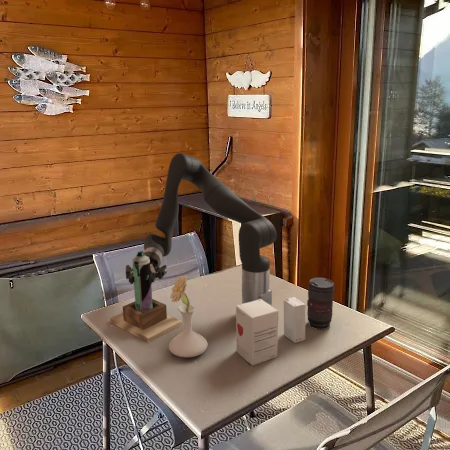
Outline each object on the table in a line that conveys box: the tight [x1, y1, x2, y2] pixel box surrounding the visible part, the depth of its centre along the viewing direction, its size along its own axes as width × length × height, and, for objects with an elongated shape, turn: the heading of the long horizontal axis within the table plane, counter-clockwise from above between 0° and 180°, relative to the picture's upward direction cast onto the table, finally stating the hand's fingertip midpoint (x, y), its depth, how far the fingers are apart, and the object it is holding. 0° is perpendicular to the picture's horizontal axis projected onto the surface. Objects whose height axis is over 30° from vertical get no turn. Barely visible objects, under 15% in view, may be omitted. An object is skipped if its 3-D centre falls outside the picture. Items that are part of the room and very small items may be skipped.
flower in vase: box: [168, 275, 208, 358], centre depth 134 cm, size 13×11×25 cm
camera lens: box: [306, 277, 335, 330], centre depth 150 cm, size 8×8×15 cm
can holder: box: [109, 298, 183, 343], centre depth 154 cm, size 20×14×6 cm
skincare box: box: [283, 296, 306, 344], centre depth 144 cm, size 6×4×12 cm
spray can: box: [132, 250, 153, 313], centre depth 150 cm, size 6×6×20 cm
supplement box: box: [235, 299, 279, 366], centre depth 134 cm, size 9×9×15 cm
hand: (140, 281), depth 148 cm, fingers closed on spray can, 5 cm apart
